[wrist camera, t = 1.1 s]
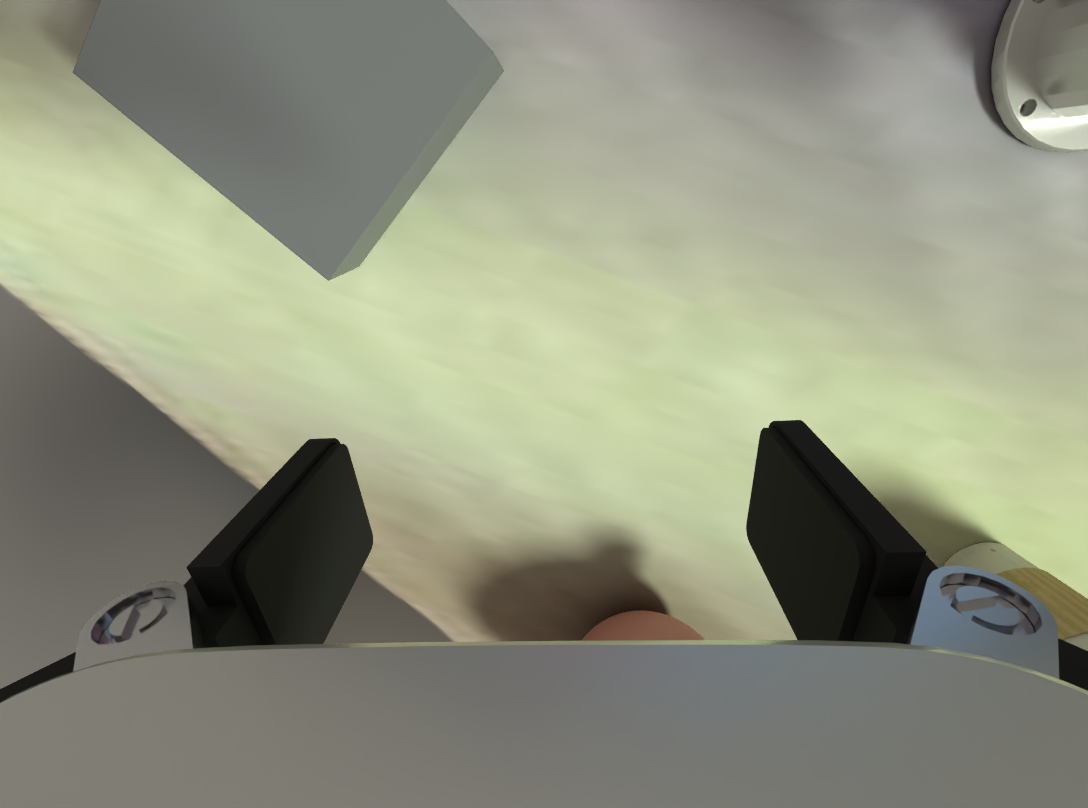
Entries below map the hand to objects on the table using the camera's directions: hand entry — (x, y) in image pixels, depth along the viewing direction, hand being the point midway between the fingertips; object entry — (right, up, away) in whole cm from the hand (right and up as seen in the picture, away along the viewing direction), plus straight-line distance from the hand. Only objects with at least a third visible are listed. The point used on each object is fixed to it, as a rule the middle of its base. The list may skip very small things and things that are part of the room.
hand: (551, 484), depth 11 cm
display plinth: (-14, +22, +19) cm, 32 cm away
